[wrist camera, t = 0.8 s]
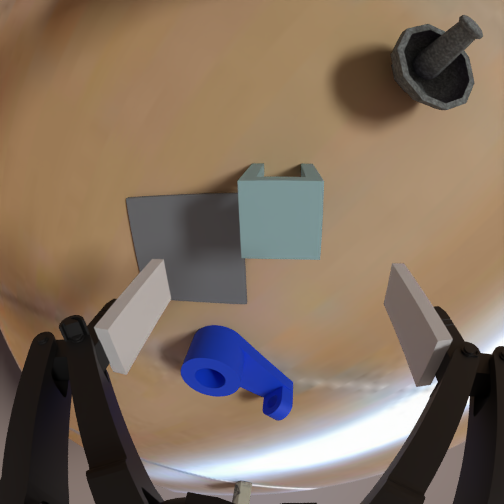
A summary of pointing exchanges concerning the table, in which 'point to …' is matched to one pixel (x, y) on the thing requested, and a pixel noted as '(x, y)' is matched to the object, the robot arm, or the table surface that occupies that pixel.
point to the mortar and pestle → (436, 63)
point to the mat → (192, 244)
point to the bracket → (235, 370)
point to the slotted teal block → (280, 214)
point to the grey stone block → (242, 493)
